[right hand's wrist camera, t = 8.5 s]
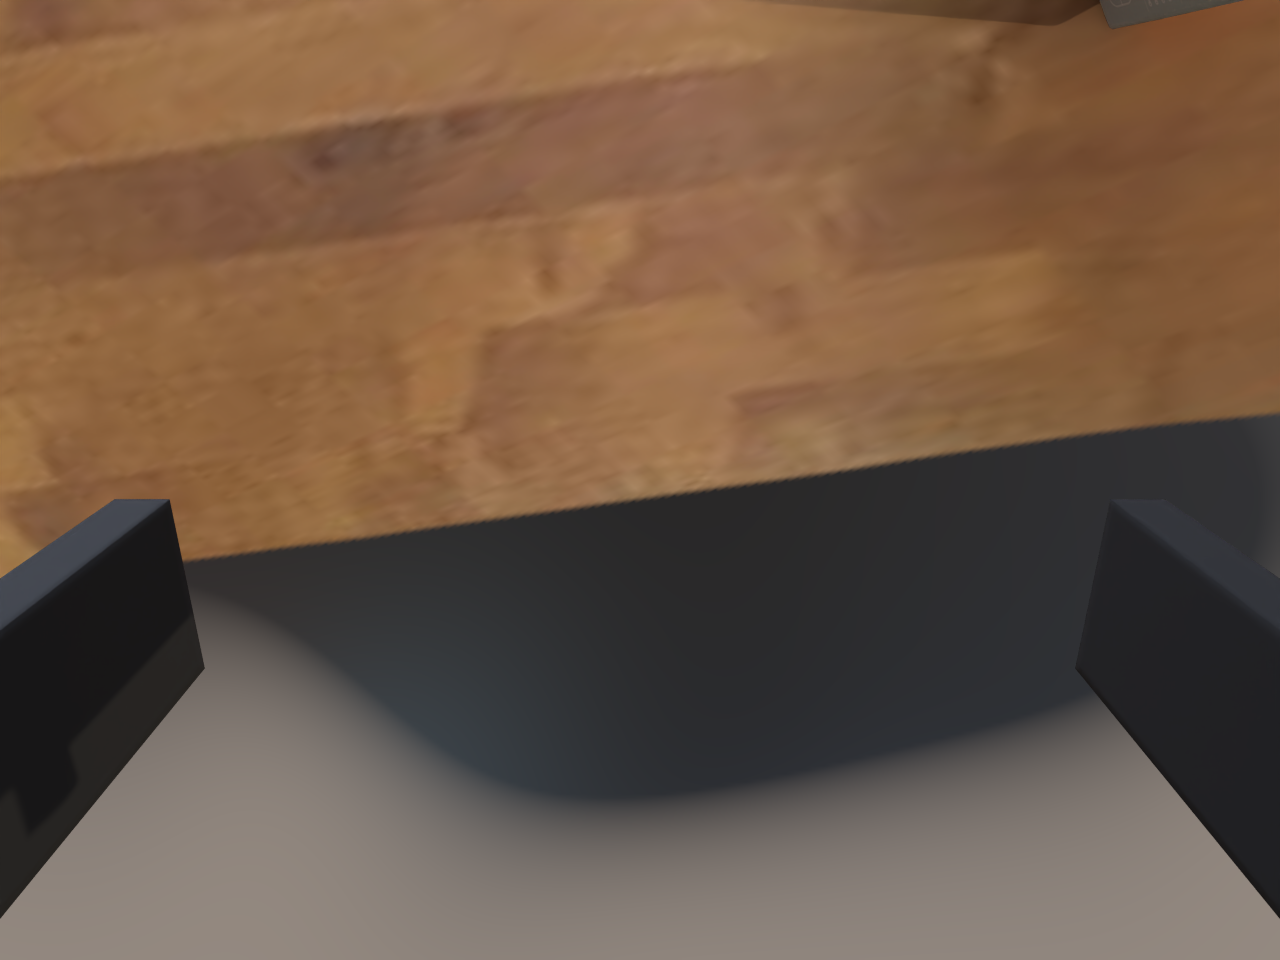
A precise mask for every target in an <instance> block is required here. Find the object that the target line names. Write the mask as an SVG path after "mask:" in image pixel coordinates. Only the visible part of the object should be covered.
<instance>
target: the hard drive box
mask: <svg viewBox="0 0 1280 960" xmlns="http://www.w3.org/2000/svg"><path fill="white" fill-rule="evenodd" d="M1238 1H1242V0H1100V3H1101V6H1102V9H1103V12H1104V15H1105V18H1106V20H1107V22H1108V25H1109V27H1110V28H1112V29H1116V28H1120V27H1124V26H1130V25H1134V24H1139V23H1144V22H1149V21H1153V20H1159V19H1163V18H1167V17H1172V16H1176V15H1181V14H1185V13H1189V12H1194V11H1198V10H1203V9H1207V8H1212V7H1216V6H1220V5H1225V4H1229V3H1234V2H1238Z"/></svg>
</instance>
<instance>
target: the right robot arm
mask: <svg viewBox="0 0 1280 960" xmlns="http://www.w3.org/2000/svg"><path fill="white" fill-rule="evenodd" d="M204 668H205V667H204V663H203V658H202V653H201V648H200V643H199V639H198V634H197V629H196V624H195V620H194V615H193V610H192V605H191V600H190V595H189V591H188V586H187V581H186V576H185V571H184V567H183V562H182V557H181V552H180V547H179V543H178V538H177V533H176V528H175V523H174V518H173V514H172V509H171V504H170V499H114V500H113V501H111V502H110V503H109V504H107V505H106V506H104V507H103V508H101V509H100V510H98V511H97V512H96V513H94V514H93V515H91V516H90V517H88V518H87V519H85V520H84V521H83V522H81V523H80V524H78V525H77V526H75V527H74V528H72V529H71V530H70V531H68V532H67V533H65V534H64V535H62V536H61V537H59V538H58V539H57V540H55V541H54V542H52V543H51V544H49V545H48V546H46V547H45V548H44V549H42V550H41V551H39V552H38V553H36V554H35V555H33V556H32V557H31V558H29V559H28V560H26V561H25V562H23V563H22V564H20V565H19V566H18V567H16V568H15V569H13V570H12V571H10V572H9V573H7V574H6V575H5V576H3V577H2V578H0V918H1V917H2V916H3V915H4V913H5V912H6V911H7V910H8V908H9V907H10V906H11V905H12V904H13V902H14V901H15V900H16V899H17V897H18V896H19V895H20V894H21V893H22V891H23V890H24V889H25V888H26V886H27V885H28V884H29V883H30V882H31V880H32V879H33V878H34V877H35V875H36V874H37V873H38V872H39V870H40V869H41V868H42V867H43V866H44V864H45V863H46V862H47V861H48V859H49V858H50V857H51V856H52V855H53V853H54V852H55V851H56V850H57V848H58V847H59V846H60V845H61V844H62V842H63V841H64V840H65V839H66V837H67V836H68V835H69V834H70V833H71V831H72V830H73V829H74V828H75V826H76V825H77V824H78V823H79V821H80V820H81V819H82V818H83V817H84V815H85V814H86V813H87V812H88V810H89V809H90V808H91V807H92V806H93V804H94V803H95V802H96V801H97V799H98V798H99V797H100V796H101V795H102V793H103V792H104V791H105V790H106V789H107V787H108V786H109V785H110V784H111V782H112V781H113V780H114V779H115V777H116V776H117V775H118V774H119V773H120V771H121V770H122V769H123V768H124V766H125V765H126V764H127V763H128V762H129V760H130V759H131V758H132V757H133V755H134V754H135V753H136V752H137V751H138V749H139V748H140V747H141V746H142V744H143V743H144V742H145V741H146V740H147V738H148V737H149V736H150V735H151V733H152V732H153V731H154V730H155V728H156V727H157V726H158V725H159V724H160V722H161V721H162V720H163V719H164V718H165V716H166V715H167V714H168V713H169V711H170V710H171V709H172V708H173V706H174V705H175V704H176V703H177V702H178V700H179V699H180V698H181V697H182V696H183V694H184V693H185V692H186V691H187V689H188V688H189V687H190V686H191V684H192V683H193V682H194V681H195V680H196V678H197V677H198V676H199V675H200V673H201V672H202V671H203V670H204ZM1075 668H1076V670H1077V671H1078V672H1079V673H1080V675H1081V676H1082V677H1083V678H1084V679H1085V681H1086V682H1087V683H1088V684H1089V686H1090V687H1091V688H1092V689H1093V691H1094V692H1095V693H1096V694H1097V695H1098V697H1099V698H1100V699H1101V700H1102V702H1103V703H1104V704H1105V705H1106V707H1107V708H1108V709H1109V710H1110V711H1111V713H1112V714H1113V715H1114V716H1115V717H1116V719H1117V720H1118V721H1119V722H1120V724H1121V725H1122V726H1123V727H1124V729H1125V730H1126V731H1127V732H1128V733H1129V735H1130V736H1131V737H1132V738H1133V740H1134V741H1135V742H1136V743H1137V744H1138V746H1139V747H1140V748H1141V749H1142V751H1143V752H1144V753H1145V754H1146V755H1147V757H1148V758H1149V759H1150V760H1151V762H1152V763H1153V764H1154V765H1155V766H1156V768H1157V769H1158V770H1159V771H1160V773H1161V774H1162V775H1163V776H1164V777H1165V779H1166V780H1167V781H1168V782H1169V784H1170V785H1171V786H1172V787H1173V789H1174V790H1175V791H1176V792H1177V793H1178V795H1179V796H1180V797H1181V798H1182V800H1183V801H1184V802H1185V803H1186V804H1187V806H1188V807H1189V808H1190V809H1191V810H1192V812H1193V813H1194V814H1195V815H1196V817H1197V818H1198V819H1199V820H1200V822H1201V823H1202V824H1203V825H1204V826H1205V828H1206V829H1207V830H1208V831H1209V833H1210V834H1211V835H1212V836H1213V837H1214V839H1215V840H1216V841H1217V842H1218V844H1219V845H1220V846H1221V847H1222V848H1223V850H1224V851H1225V852H1226V853H1227V855H1228V856H1229V857H1230V858H1231V859H1232V861H1233V862H1234V863H1235V864H1236V866H1237V867H1238V868H1239V869H1240V870H1241V872H1242V873H1243V874H1244V875H1245V877H1246V878H1247V879H1248V880H1249V882H1250V883H1251V884H1252V885H1253V886H1254V888H1255V889H1256V890H1257V891H1258V892H1259V894H1260V895H1261V896H1262V897H1263V899H1264V900H1265V901H1266V902H1267V904H1268V905H1269V906H1270V907H1271V908H1272V910H1273V911H1274V912H1275V913H1276V915H1277V916H1278V917H1279V918H1280V578H1278V577H1277V576H1275V575H1274V574H1273V573H1271V572H1270V571H1268V570H1267V569H1265V568H1264V567H1262V566H1261V565H1260V564H1258V563H1257V562H1255V561H1254V560H1252V559H1251V558H1249V557H1248V556H1246V555H1245V554H1244V553H1242V552H1241V551H1239V550H1238V549H1236V548H1235V547H1233V546H1232V545H1231V544H1229V543H1228V542H1226V541H1225V540H1223V539H1222V538H1221V537H1219V536H1218V535H1216V534H1215V533H1213V532H1212V531H1210V530H1209V529H1208V528H1206V527H1205V526H1203V525H1202V524H1200V523H1199V522H1197V521H1196V520H1195V519H1193V518H1192V517H1190V516H1189V515H1187V514H1186V513H1184V512H1183V511H1182V510H1180V509H1179V508H1177V507H1176V506H1174V505H1173V504H1171V503H1170V502H1169V501H1167V500H1166V499H1111V500H1110V504H1109V509H1108V514H1107V518H1106V523H1105V528H1104V533H1103V538H1102V542H1101V547H1100V552H1099V557H1098V562H1097V567H1096V571H1095V576H1094V581H1093V586H1092V591H1091V596H1090V600H1089V605H1088V610H1087V615H1086V620H1085V624H1084V629H1083V634H1082V639H1081V643H1080V648H1079V653H1078V658H1077V663H1076V667H1075Z"/></svg>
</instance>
